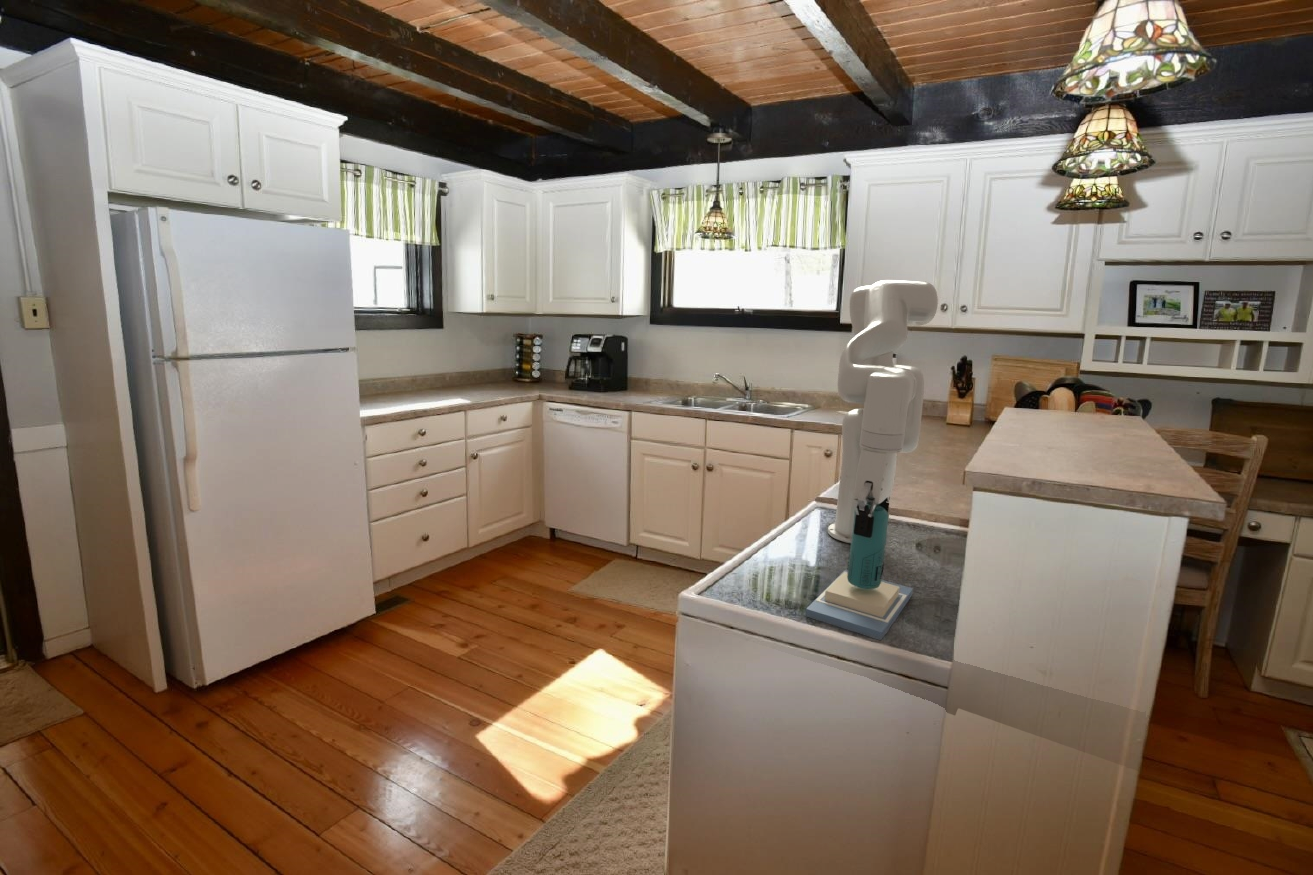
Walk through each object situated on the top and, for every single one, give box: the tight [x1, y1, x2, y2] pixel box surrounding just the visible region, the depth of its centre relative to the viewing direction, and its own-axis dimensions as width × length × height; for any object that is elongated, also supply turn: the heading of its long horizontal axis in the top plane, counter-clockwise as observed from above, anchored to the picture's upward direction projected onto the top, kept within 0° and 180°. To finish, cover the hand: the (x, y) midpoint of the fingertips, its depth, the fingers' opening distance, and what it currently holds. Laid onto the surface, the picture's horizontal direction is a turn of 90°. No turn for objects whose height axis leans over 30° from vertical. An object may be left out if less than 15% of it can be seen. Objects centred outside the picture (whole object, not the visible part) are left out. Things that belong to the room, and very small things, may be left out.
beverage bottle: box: [846, 488, 890, 589], centre depth 131 cm, size 6×7×20 cm
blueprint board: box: [805, 569, 914, 641], centre depth 134 cm, size 22×14×4 cm, turn 147°
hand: (870, 528), depth 130 cm, fingers open, 9 cm apart
